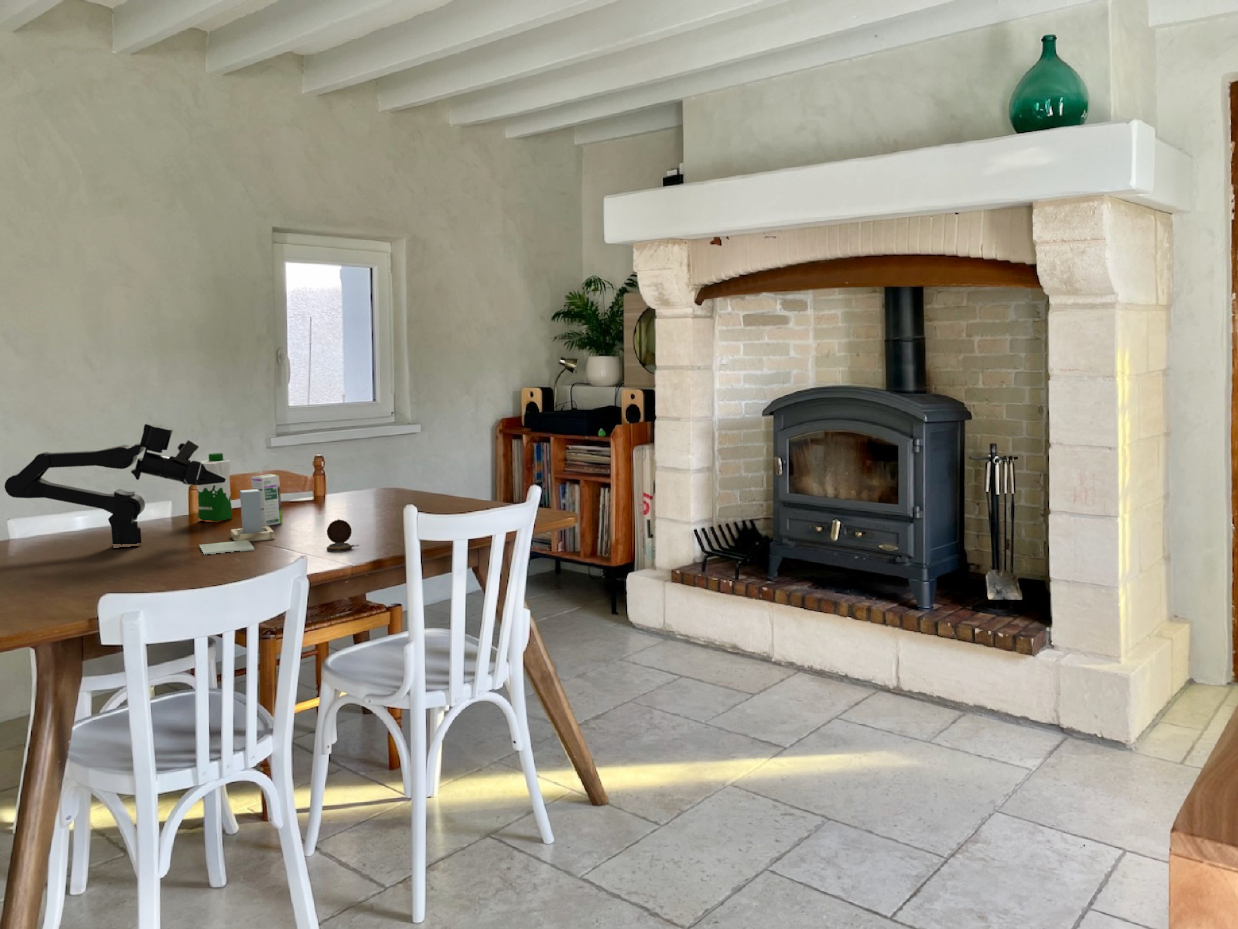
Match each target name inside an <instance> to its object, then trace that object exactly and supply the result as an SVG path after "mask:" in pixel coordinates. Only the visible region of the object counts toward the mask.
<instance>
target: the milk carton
mask: <svg viewBox="0 0 1238 929" xmlns="http://www.w3.org/2000/svg"><path fill="white" fill-rule="evenodd" d="M198 462H201V463H203V465H204V466H205V468H206V470H208V471H210V472H212V473H214V474H217V475H219V476H221V477H223V478H225V479H226V480H225V482H224V483H214V484H205V485H196V487H197V488H196V490H197V504H198V505H197V509H198V511H197V514H198V515H197V519H198V518H200V519H202V520H212V521H220V520H226V519H230V518H233V517H234V516H233V508H232V497H231V482H230V469H231V460H229V459H228V460H227V459H224V453H222V452H221V453H220V452H217V453H208V459H207V460H199V461H198ZM200 466H201V465H200ZM230 520H231V519H230ZM226 521H227V520H226Z"/></svg>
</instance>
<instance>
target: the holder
mask: <svg viewBox="0 0 1238 929" xmlns="http://www.w3.org/2000/svg"><path fill="white" fill-rule="evenodd" d="M230 538H232V540H233V541H243V540H248V541H249V542H256V541H267V540H275V531H274V530H273V529H272V528H271V527H270V526H262V532H257V533H246V534H243V531H242V528H233V529H230Z"/></svg>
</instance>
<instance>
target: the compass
mask: <svg viewBox="0 0 1238 929" xmlns="http://www.w3.org/2000/svg"><path fill="white" fill-rule="evenodd" d="M326 534H327V537H328V539H329V540H330V541H331V542H332V543H331V544H329V545H328V546H326V550H327V551H328V552H330V551H342V552H347V550H348V551H350V550H352V548H356V547H360V545H359V544H357V545H356V544H350V543H348V542H347V541H348V540H349V539H350V538H351V536H352V527H351V524H349V523H348V522H347V521H346V520H343V519H339V518H338V519H335V520H334V521H332V522H330V524H328V526H327V529H326Z"/></svg>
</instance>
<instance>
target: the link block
mask: <svg viewBox="0 0 1238 929" xmlns="http://www.w3.org/2000/svg"><path fill="white" fill-rule="evenodd" d="M239 495H240V496H239V499H240V512H241V529H242V531H243V534H246V533H257V532H262V527H263V526H262V522H261V506H260V491H259V490H258V489H252V488H251V489H244V490H243V489H242V490H239Z"/></svg>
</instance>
